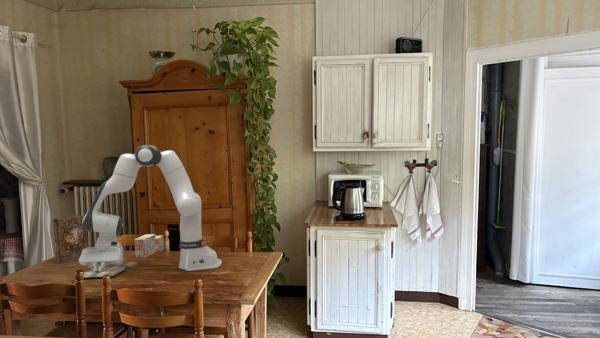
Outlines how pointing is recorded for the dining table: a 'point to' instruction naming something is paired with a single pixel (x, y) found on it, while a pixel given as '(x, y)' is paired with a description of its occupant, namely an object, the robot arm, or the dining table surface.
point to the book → (69, 238)
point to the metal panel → (104, 272)
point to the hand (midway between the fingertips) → (97, 271)
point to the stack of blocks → (148, 245)
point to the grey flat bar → (116, 265)
